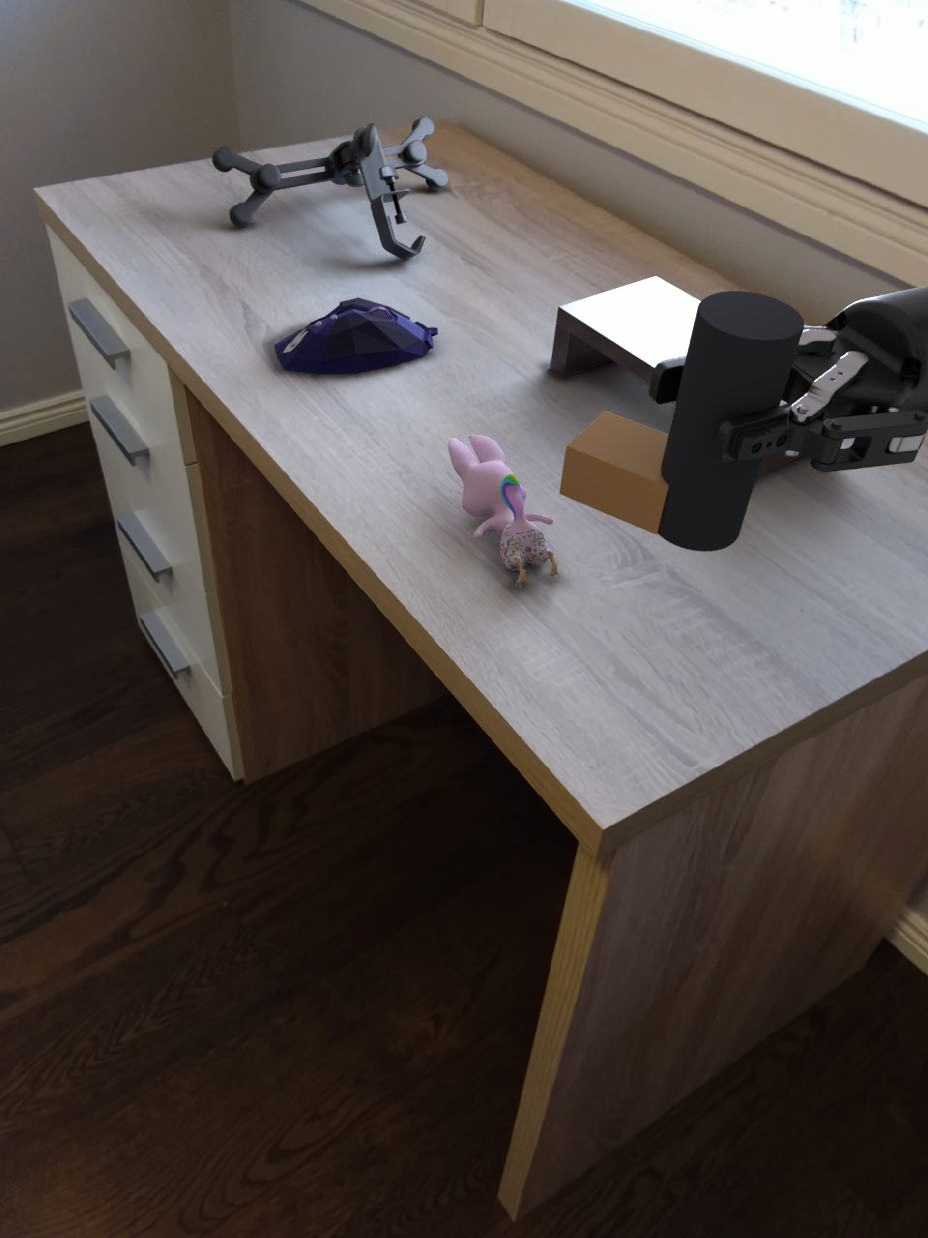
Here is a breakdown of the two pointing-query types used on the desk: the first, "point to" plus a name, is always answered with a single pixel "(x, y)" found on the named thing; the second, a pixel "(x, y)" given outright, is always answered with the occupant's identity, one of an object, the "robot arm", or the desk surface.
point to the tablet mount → (346, 177)
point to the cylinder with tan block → (692, 429)
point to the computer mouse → (355, 340)
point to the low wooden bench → (632, 334)
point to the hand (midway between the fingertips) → (687, 413)
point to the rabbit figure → (500, 504)
